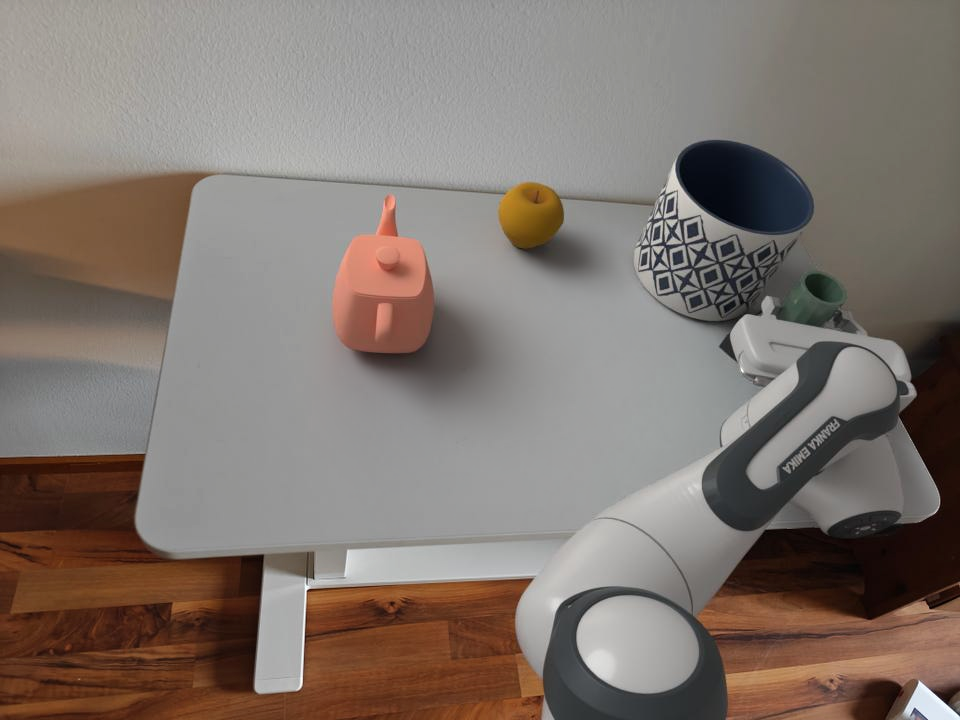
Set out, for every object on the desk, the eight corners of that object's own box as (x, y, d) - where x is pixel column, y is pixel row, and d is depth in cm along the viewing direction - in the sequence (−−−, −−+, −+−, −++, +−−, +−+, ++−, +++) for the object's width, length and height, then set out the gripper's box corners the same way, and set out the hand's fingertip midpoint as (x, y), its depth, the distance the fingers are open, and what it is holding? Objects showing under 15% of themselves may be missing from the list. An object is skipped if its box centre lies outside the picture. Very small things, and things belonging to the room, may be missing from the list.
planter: (622, 225, 108) (662, 131, 95) (736, 237, 111) (790, 147, 98) (643, 319, 97) (692, 227, 84) (769, 329, 100) (835, 241, 87)
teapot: (431, 388, 84) (444, 321, 75) (327, 383, 82) (326, 314, 73) (428, 264, 96) (439, 193, 87) (337, 257, 94) (338, 184, 85)
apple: (549, 272, 99) (565, 222, 92) (485, 254, 99) (497, 203, 92) (558, 229, 105) (575, 180, 98) (499, 212, 105) (511, 162, 98)
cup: (804, 362, 92) (849, 310, 85) (762, 350, 92) (802, 297, 85) (802, 330, 96) (845, 278, 88) (761, 318, 96) (800, 265, 88)
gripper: (729, 398, 83) (714, 308, 92) (895, 427, 85) (866, 336, 94) (755, 365, 78) (737, 274, 87) (931, 396, 80) (897, 304, 89)
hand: (805, 306), depth 90 cm, fingers open, 8 cm apart
